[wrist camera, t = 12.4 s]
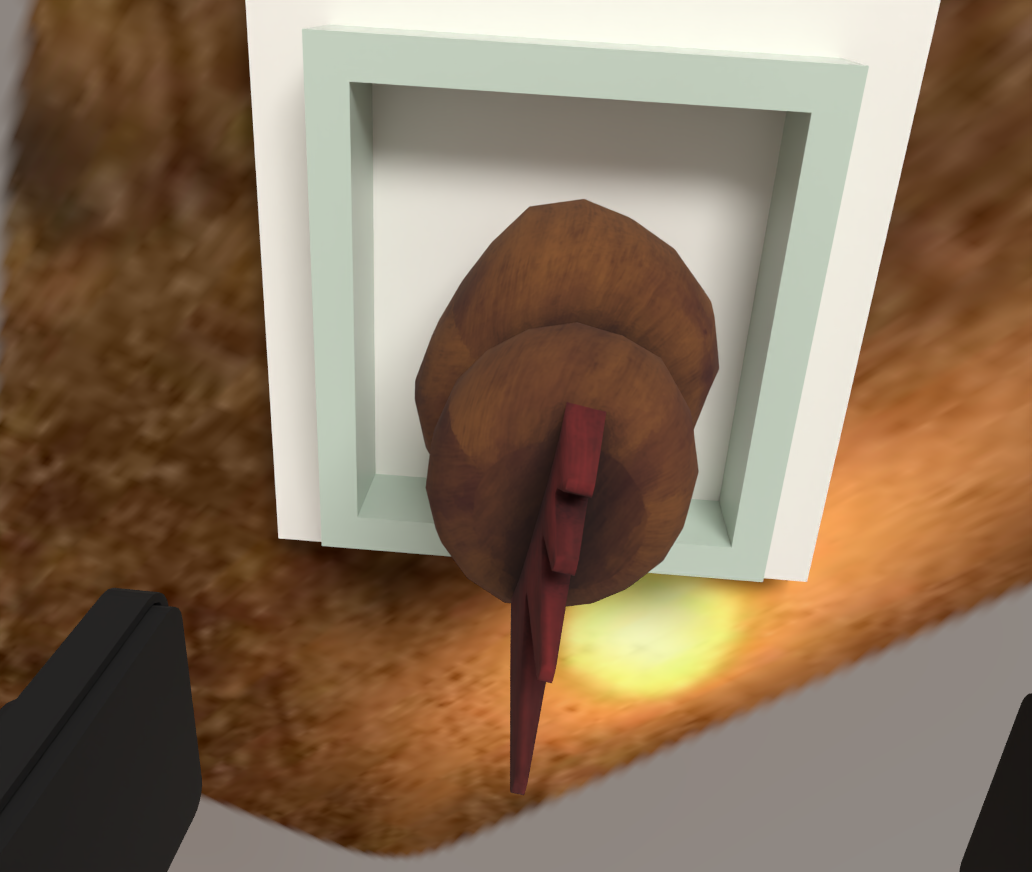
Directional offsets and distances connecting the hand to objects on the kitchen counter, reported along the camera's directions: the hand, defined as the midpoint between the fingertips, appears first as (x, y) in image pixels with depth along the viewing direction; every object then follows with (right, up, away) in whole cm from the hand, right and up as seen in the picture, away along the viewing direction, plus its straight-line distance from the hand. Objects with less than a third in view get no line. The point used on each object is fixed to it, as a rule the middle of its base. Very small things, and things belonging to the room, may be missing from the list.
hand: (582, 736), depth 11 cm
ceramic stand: (+1, +7, +16) cm, 17 cm away
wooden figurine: (+1, +7, +15) cm, 16 cm away
